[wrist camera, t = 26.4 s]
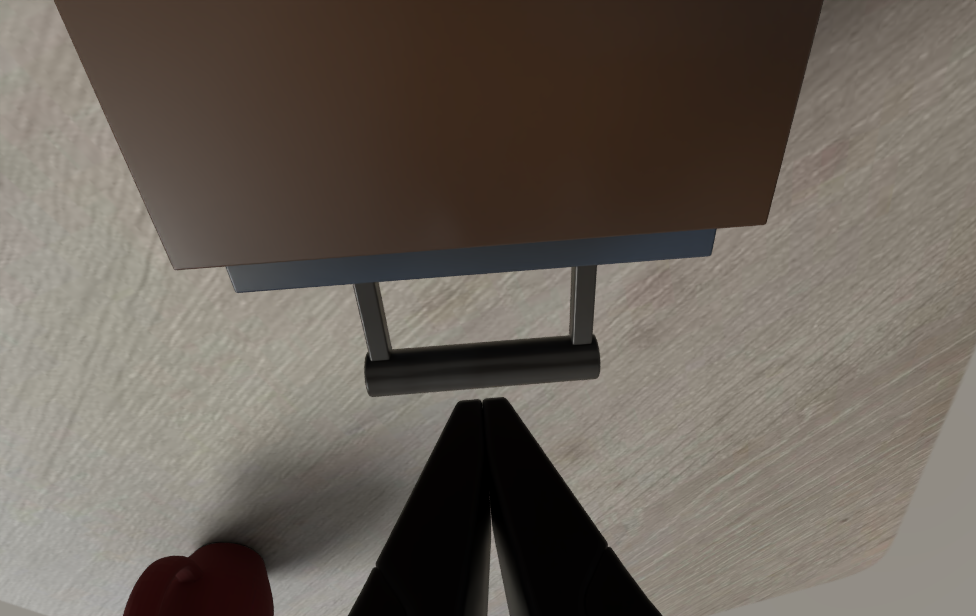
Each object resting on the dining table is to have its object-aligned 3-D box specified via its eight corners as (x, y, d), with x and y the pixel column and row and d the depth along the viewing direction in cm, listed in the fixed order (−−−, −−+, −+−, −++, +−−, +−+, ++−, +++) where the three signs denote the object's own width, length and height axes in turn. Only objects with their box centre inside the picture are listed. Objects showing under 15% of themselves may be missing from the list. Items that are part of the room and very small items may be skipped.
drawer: (621, 283, 21) (682, 405, 16) (332, 305, 21) (289, 437, 15) (696, -487, 11) (957, -952, 5) (131, -455, 11) (-223, -898, 5)
